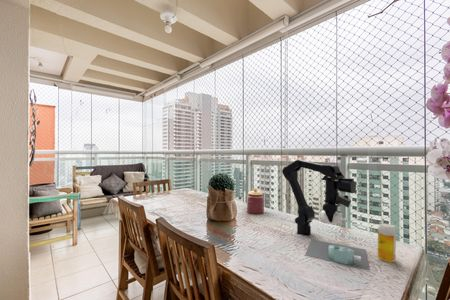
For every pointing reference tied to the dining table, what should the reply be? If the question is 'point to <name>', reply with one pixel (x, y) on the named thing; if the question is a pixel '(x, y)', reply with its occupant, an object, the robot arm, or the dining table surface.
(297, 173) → the robot arm
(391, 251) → the beer can
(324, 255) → the rubber mat
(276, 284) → the dining table surface
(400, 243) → the dining table surface
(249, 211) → the canister
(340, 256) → the teal connector
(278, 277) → the dining table surface
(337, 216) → the white rounded piece
